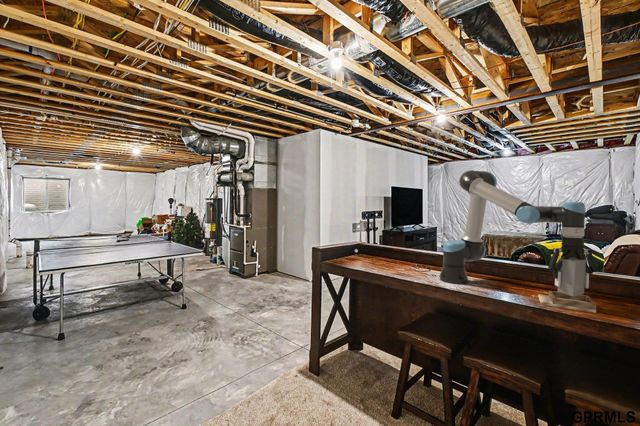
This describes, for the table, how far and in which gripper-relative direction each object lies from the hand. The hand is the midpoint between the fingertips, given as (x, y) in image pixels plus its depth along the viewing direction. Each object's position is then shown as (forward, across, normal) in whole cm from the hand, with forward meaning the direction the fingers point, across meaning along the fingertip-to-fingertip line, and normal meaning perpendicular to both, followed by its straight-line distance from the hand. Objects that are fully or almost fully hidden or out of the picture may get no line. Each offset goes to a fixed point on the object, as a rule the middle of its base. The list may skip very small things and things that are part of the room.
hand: (571, 286), depth 127 cm
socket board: (+8, -2, +1) cm, 9 cm away
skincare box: (+3, 0, 0) cm, 3 cm away
